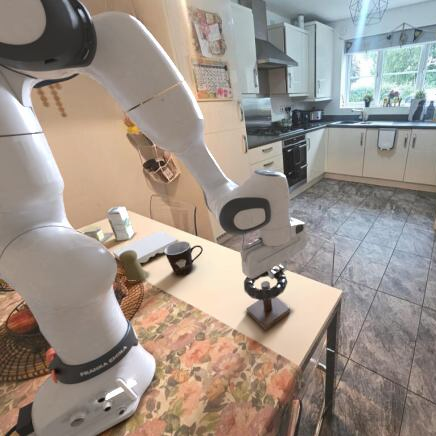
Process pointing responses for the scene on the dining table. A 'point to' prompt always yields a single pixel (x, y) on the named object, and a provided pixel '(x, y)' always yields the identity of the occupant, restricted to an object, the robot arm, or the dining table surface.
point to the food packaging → (148, 246)
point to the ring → (266, 293)
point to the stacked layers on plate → (95, 233)
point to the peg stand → (268, 309)
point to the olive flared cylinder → (132, 267)
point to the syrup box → (120, 223)
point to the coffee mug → (181, 257)
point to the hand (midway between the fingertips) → (278, 273)
